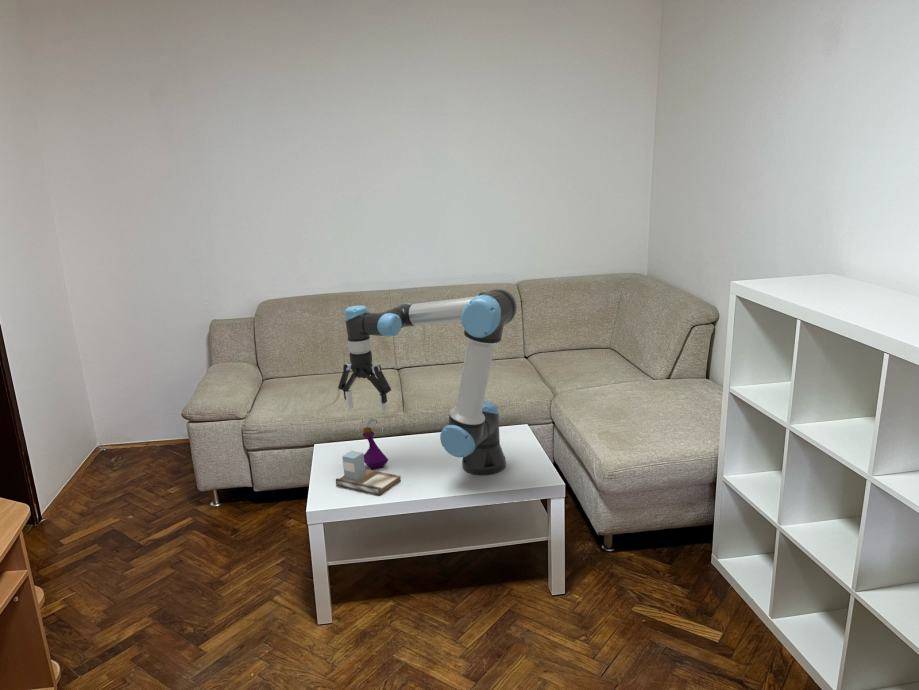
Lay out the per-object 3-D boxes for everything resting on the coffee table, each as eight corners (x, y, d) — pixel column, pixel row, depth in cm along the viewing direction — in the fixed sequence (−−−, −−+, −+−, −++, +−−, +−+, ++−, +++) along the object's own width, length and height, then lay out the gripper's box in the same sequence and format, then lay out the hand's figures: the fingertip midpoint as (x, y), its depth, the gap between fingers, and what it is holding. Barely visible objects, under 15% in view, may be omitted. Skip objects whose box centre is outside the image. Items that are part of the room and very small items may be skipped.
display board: (400, 481, 242) (400, 474, 241) (379, 496, 232) (378, 488, 231) (358, 472, 251) (357, 465, 250) (336, 486, 241) (335, 479, 240)
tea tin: (365, 474, 244) (363, 452, 242) (356, 480, 239) (353, 458, 237) (354, 472, 246) (351, 450, 244) (344, 478, 242) (342, 456, 240)
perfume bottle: (369, 473, 249) (364, 424, 245) (361, 466, 256) (357, 418, 251) (389, 468, 253) (385, 420, 248) (381, 461, 259) (377, 414, 255)
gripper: (397, 350, 243) (403, 409, 248) (336, 346, 254) (343, 403, 259) (385, 355, 237) (391, 416, 242) (323, 352, 247) (330, 410, 253)
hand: (366, 410), depth 250 cm, fingers open, 13 cm apart
